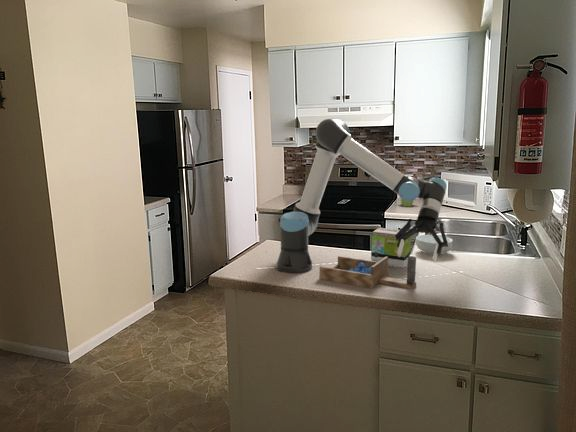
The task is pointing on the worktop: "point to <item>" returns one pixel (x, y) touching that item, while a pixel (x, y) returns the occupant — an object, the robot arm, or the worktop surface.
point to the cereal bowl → (431, 244)
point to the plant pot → (406, 203)
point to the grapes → (362, 269)
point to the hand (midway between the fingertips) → (415, 257)
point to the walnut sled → (367, 280)
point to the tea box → (389, 247)
